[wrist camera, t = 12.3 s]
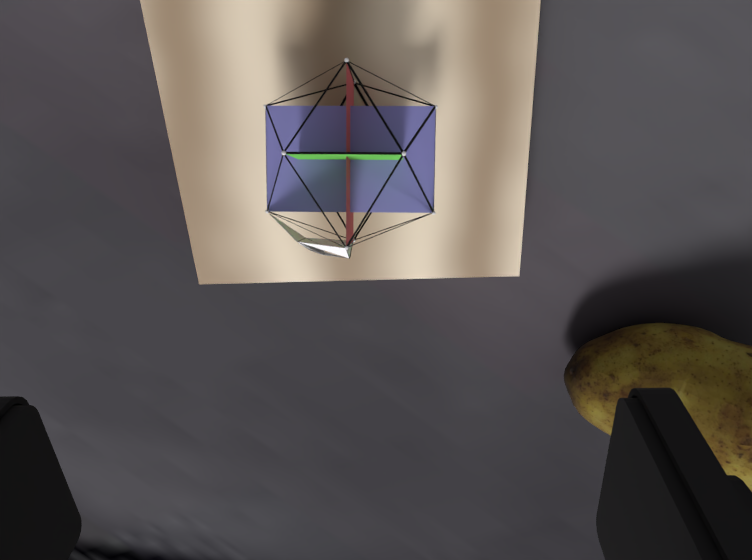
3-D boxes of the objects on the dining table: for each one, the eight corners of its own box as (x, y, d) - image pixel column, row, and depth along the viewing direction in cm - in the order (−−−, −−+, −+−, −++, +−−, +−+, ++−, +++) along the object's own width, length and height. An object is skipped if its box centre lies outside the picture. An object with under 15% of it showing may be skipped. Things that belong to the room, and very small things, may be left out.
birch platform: (529, -47, 26) (544, -45, 24) (509, 249, 33) (519, 276, 30) (160, -29, 27) (134, -26, 24) (214, 257, 34) (199, 284, 31)
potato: (626, 258, 33) (689, 343, 26) (809, 349, 35) (911, 448, 28) (540, 369, 37) (574, 470, 30) (710, 444, 39) (780, 554, 32)
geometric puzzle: (256, 12, 23) (230, 196, 19) (441, 12, 23) (447, 198, 19) (286, 133, 29) (270, 287, 26) (429, 134, 29) (432, 288, 26)
